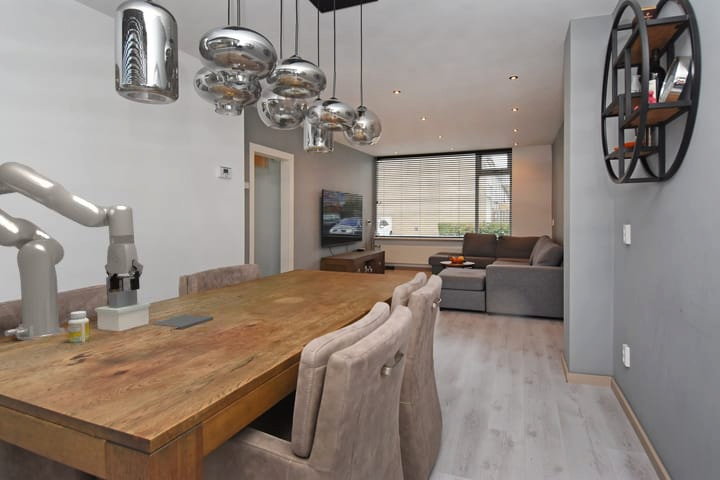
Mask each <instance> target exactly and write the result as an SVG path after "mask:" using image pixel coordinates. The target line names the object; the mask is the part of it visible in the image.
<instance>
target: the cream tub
mask: <svg viewBox="0 0 720 480" xmlns="http://www.w3.org/2000/svg"><path fill="white" fill-rule="evenodd" d="M96 313H97V314H96V315H97V316H96V317H97V329H98V330H101V331H109V332H110V331H111V332H123V331H126V330H129V329H133V328H137V327H141V326H145V325H148V324H150V316H149V313H150V312H149V307H144V308H140V309H136V310H131V311H127V312H122V313H108V312H97V311H96Z"/></svg>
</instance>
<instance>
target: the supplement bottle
mask: <svg viewBox="0 0 720 480" xmlns="http://www.w3.org/2000/svg"><path fill="white" fill-rule="evenodd" d="M70 318H71V319H70V320H68V322H67V327H68V328H67V332H68V334H67V335H68V344H80V343H85V342H88V341H89V340H90V319H89V318H87V311H85V310H78V311H77V310H76V311H72V312H70Z"/></svg>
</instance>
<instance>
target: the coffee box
mask: <svg viewBox="0 0 720 480" xmlns="http://www.w3.org/2000/svg"><path fill="white" fill-rule="evenodd" d="M117 277H119V286H120V288H119V289H113V290H111V289H110V278H108V276H107V277H105V282H106V306H109V297H108V293H113V292H118V291H124V290H131V288H130V279H132V278H131V277H130V275H118V276H117Z"/></svg>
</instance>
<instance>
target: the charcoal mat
mask: <svg viewBox="0 0 720 480" xmlns="http://www.w3.org/2000/svg"><path fill="white" fill-rule="evenodd" d="M210 321H214V316H206V315H196V314H194V315H193V314H186V313H185V314H181V315H178V316H173V317H171V318H166V319H163V320H160V321H157V322H152V323H150V325H154V326H160V327H161V326H163V327H170V328H172V327H173V328H174V330H178V331H179V330H184V329H188V328H191V327H193V326H194V327H195V326H197V325H200V324H204V323H206V322H210Z"/></svg>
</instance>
